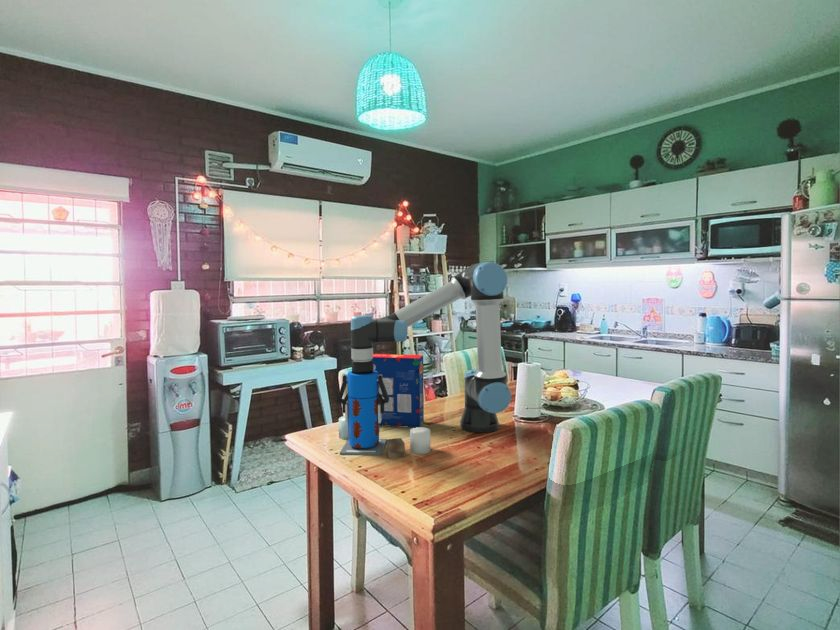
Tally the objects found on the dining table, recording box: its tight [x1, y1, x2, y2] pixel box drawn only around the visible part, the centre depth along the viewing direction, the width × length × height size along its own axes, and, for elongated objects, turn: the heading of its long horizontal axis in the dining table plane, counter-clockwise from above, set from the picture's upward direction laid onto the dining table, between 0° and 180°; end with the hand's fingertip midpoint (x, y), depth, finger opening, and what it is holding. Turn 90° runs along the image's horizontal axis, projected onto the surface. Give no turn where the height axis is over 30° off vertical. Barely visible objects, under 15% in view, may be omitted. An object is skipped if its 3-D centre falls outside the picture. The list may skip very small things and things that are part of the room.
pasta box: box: [351, 353, 425, 428], centre depth 187 cm, size 28×8×28 cm, turn 78°
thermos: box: [346, 370, 380, 448], centre depth 160 cm, size 11×11×25 cm
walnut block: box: [385, 437, 406, 460], centre depth 152 cm, size 5×5×5 cm
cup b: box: [338, 415, 349, 441], centre depth 171 cm, size 7×7×7 cm
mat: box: [339, 438, 387, 456], centre depth 160 cm, size 14×14×1 cm
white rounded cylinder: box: [409, 426, 431, 455], centre depth 157 cm, size 7×7×7 cm
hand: (363, 422), depth 160 cm, fingers closed on thermos, 11 cm apart
